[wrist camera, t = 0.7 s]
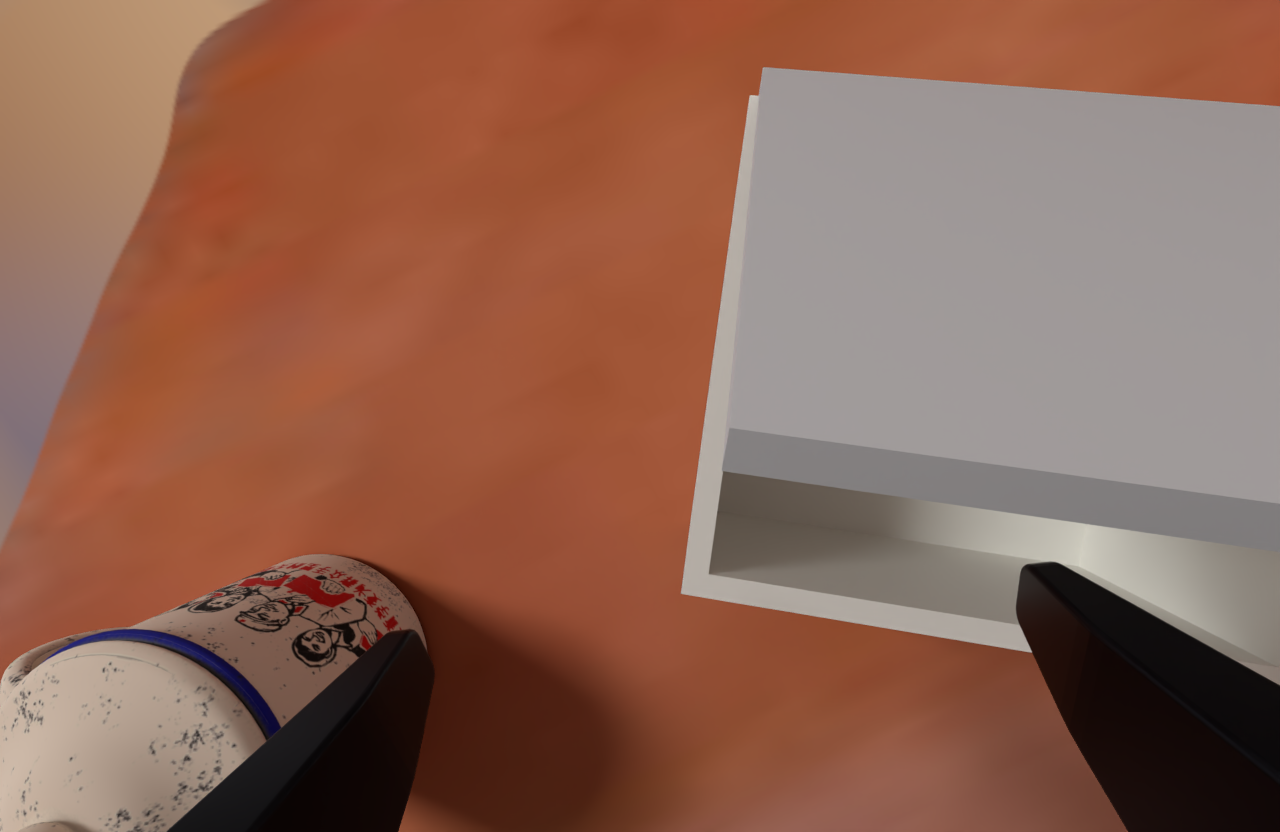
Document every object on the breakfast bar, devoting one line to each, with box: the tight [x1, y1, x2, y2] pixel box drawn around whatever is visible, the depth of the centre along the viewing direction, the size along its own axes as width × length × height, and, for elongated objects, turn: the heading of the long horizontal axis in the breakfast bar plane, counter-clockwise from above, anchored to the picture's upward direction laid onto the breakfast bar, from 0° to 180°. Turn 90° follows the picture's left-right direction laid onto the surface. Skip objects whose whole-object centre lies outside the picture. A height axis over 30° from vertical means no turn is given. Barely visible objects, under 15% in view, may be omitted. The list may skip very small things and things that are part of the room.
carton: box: [681, 95, 1280, 685], centre depth 18 cm, size 12×14×8 cm
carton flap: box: [722, 67, 1280, 552], centre depth 9 cm, size 12×14×1 cm
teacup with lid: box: [0, 554, 427, 832], centre depth 19 cm, size 12×9×12 cm
